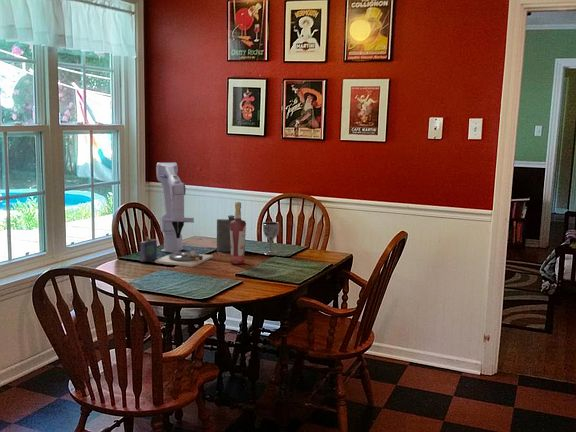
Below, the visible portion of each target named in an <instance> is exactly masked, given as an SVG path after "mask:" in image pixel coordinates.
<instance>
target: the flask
mask: <svg viewBox="0 0 576 432" xmlns="http://www.w3.org/2000/svg"><path fill="white" fill-rule="evenodd" d="M227 217H228V218H227V219H225V218H218V219H216V252H219V253H221V252H222V253H231V241H230V222H231V221H233V220H235V215H232V214H231V215H227ZM243 221H244V222H246V220H243ZM245 252H246V247H245V248H244V254H245Z"/></svg>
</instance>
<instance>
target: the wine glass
mask: <svg viewBox="0 0 576 432" xmlns="http://www.w3.org/2000/svg"><path fill="white" fill-rule="evenodd" d="M279 230H280V223H279V222H277V221H264V222H262V231H263V232H262V233H263V234H264V236H265V238H266V239H267V240H268V243H269V250H268V251H263V255H268V256H274V255H278V252H276V251H272V244H273V241H274V240H275V239H276V237H277V236H278V235H279Z"/></svg>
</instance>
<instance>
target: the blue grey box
mask: <svg viewBox="0 0 576 432" xmlns="http://www.w3.org/2000/svg"><path fill="white" fill-rule="evenodd" d="M157 241H158V240H157V239H155V238H150V237H149V236H145V240H144V241H140V243H139V244H140V251H139V252H140V257H139V258H140V259H139V260H140V262H142V263H143V262H149V261H152V260H157V259H158V258H157V252H158V251H157V243H158V242H157Z"/></svg>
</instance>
